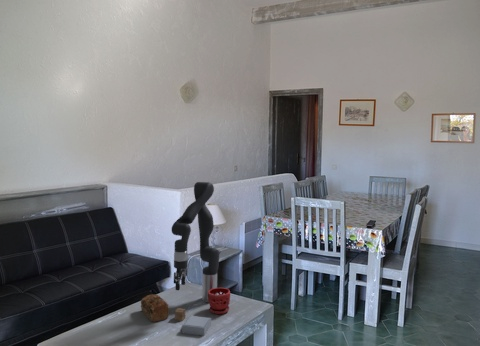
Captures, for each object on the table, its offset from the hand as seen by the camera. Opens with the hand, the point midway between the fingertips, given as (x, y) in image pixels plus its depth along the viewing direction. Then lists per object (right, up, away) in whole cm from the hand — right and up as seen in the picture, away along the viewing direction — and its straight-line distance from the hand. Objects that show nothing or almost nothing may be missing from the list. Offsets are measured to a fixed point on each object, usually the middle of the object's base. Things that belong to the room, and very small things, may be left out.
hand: (180, 287), depth 217 cm
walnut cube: (0, -18, +1) cm, 18 cm away
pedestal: (+10, -19, -10) cm, 24 cm away
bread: (-16, -18, +6) cm, 24 cm away
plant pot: (+21, -18, +13) cm, 30 cm away
